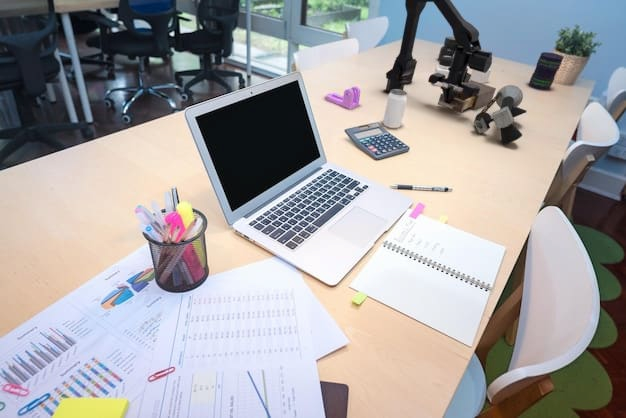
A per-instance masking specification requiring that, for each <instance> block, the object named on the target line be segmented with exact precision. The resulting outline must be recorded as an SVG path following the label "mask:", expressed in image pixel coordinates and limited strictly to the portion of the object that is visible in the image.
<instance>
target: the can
mask: <svg viewBox="0 0 626 418" xmlns="http://www.w3.org/2000/svg"><path fill="white" fill-rule="evenodd" d="M407 94H408V92H407V91H405V90H404V89H403V90H399V89H393V90H391V91H390V93H388V96H387V98H386V99H387V100H386V105H385V110H384V115H383V120H382V124H383V126H385V127H386V128H389V129H399V128H400V127H401V126H402V123H403V118H404V114H405V109H406V106H407V101H408V95H407Z"/></svg>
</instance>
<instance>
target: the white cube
mask: <svg viewBox="0 0 626 418" xmlns="http://www.w3.org/2000/svg"><path fill="white" fill-rule="evenodd" d="M491 73H492V69H490V68H489V70H488V71H487V72H486V73H483V72H480V71H476V70H473V69H471V72H470V74H471V78H470V80H472V81H475V82H478V83H481V84H485V83H488V82H489V78H490V75H491ZM470 80H469V81H470Z"/></svg>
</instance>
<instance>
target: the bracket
mask: <svg viewBox="0 0 626 418" xmlns="http://www.w3.org/2000/svg"><path fill="white" fill-rule="evenodd" d="M360 97H361V89H360V87H359V86H357V85H355V86H353V87H351V88H347V89H345V90H344V91H343V95H341V94H338V93H336V92H335V93H334V92H331V93H327V94H326V100H327V101H328V102H331V103H334V104H336V105H338V106H341V107H344V108H346V109H349V110H351V109H354V108H356V107H358V106H359V104H360Z"/></svg>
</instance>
